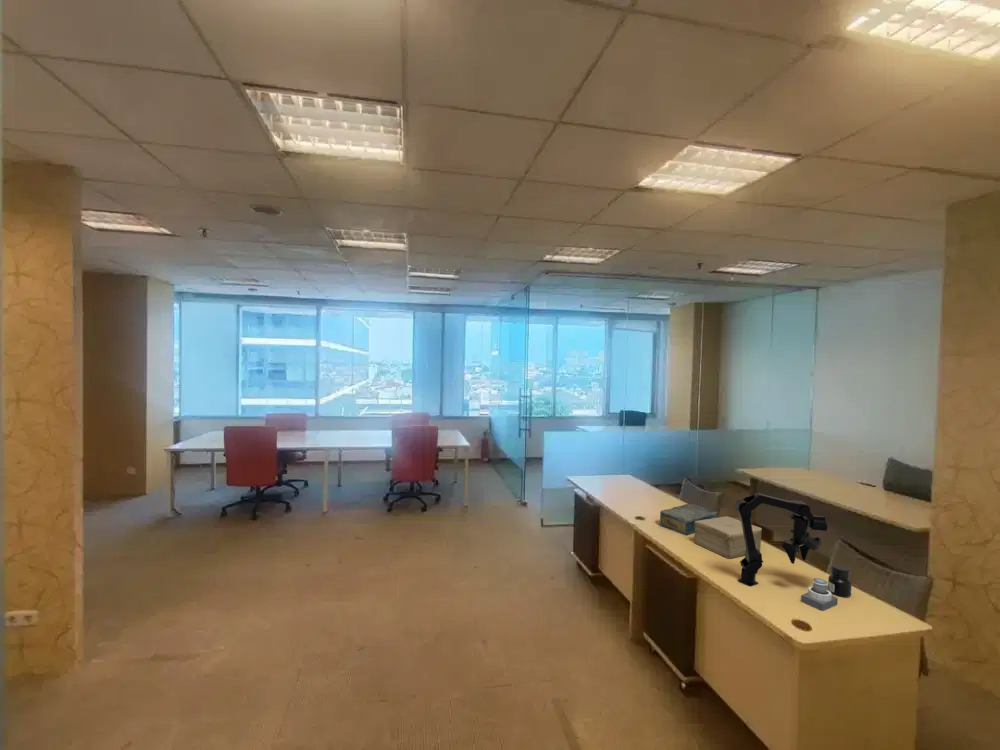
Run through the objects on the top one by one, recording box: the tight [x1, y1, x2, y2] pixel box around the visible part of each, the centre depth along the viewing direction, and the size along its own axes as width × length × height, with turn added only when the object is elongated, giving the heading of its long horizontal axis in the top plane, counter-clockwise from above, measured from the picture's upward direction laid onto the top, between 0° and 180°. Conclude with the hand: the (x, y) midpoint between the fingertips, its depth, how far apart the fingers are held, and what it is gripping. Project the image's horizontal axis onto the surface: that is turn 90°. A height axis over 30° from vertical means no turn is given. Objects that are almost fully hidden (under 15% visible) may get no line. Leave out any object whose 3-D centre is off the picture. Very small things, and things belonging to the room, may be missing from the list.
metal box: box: [659, 503, 719, 536], centre depth 314 cm, size 21×32×10 cm, turn 124°
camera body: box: [800, 585, 839, 612], centre depth 218 cm, size 12×9×6 cm
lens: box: [812, 577, 828, 595], centre depth 218 cm, size 5×5×7 cm
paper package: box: [694, 515, 763, 559], centre depth 279 cm, size 27×26×14 cm
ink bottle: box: [827, 564, 853, 598], centre depth 228 cm, size 10×9×12 cm
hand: (798, 561), depth 232 cm, fingers open, 9 cm apart
